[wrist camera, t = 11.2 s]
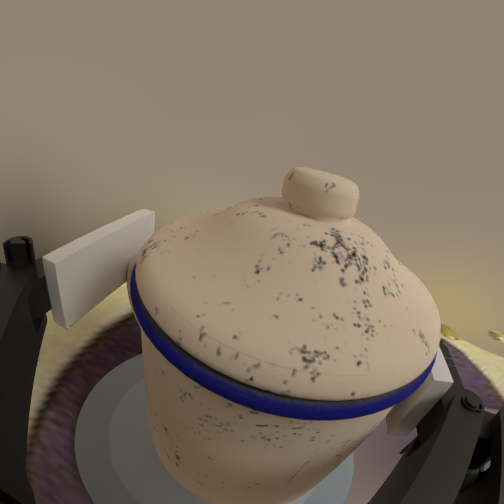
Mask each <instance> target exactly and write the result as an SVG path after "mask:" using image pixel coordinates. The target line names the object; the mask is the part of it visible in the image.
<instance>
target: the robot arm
mask: <svg viewBox="0 0 504 504" xmlns="http://www.w3.org/2000/svg"><path fill="white" fill-rule="evenodd" d="M154 222H155V212H154V211H149V210H146V209H141V210H139V211H137V212H134V213H132V214H130V215H128V216H125V217H123V218H121V219H118V220H117V221H114V222H112V223H110V224H108V225H105V226H103V227H101V228H99V229H97V230H95V231H93V232H90V233H88V234H86V235H85V236H82V237H80V238H78V239H76V240H74V241H72V242H70V243H68V244H66V245H64V246H62V247H60V248H58V249H56V250H54V251H52V252H50V253H48V254H47V255H45V256H43V257H41V258H39V259H37V260H35V254H34V247H33V240H32V238H30V237H28V236H17V237H13V238H10V239H8V240H6V241H5V242H4V243H3V247H4V253H5V259H6V264H3V263H1V262H0V504H36V503H35V497H34V494H33V491H32V489H31V487H30V484H29V482H28V480H27V475H26V450H27V432H28V420H29V411H30V403H31V396H32V389H33V383H34V377H35V372H36V366H37V361H38V357H39V352H40V348H41V344H42V339H43V335H44V332H45V328H46V324H47V316H46V312H48V311H49V310H51V309H52V314H53V318H54V321H55V322H56V323H58V324H59V325H61V326H63V327H64V328H66V329H68V328H69V327H71V326H72V325H73V324H74V323H75V322H77V321H78V320H79V319H80V318H81V317H83V316H84V315H85V314H86V313H87V312H89V311H90V310H91V309H92V308H93V307H95V306H96V305H97V304H98V303H100V302H101V301H102V300H103V299H105V298H106V297H107V296H108V295H110V294H111V293H112V292H113V291H115V290H116V289H117V288H119V287H120V286H121V285H122V284H124V283H125V282H126V281H127V269H128V265H129V262H130V260H131V259H132V257H133V256H134V255H135V254H137V253H138V252H140V251H141V250H142V248H143V246H144V245H145V243H146V242H147V240H148V239H149V238H150V237H151V236H152V235H153V234H154ZM386 423H387V434H388V435H390V436H404V437H406V436H407V435H408V434H409V433H410V432H411V431H412V430H413V429H414V428H415V427H416V428H417V434H418V436H417V437H416V438H415V439H414V440H412V442H410V443H409V444H408V445H407V446H406V447H405V448H404V449H403V450H402V451H401V452H400V454H403V453H404V452H405V453H404V454H403V456H402V457H401V459H400V461H399V462H398V464H397V465H396V466H395V468H394V469H393V471H392V472H391V474H390V475H389V476H388V478H387V479H386V481H385V482H384V483H383V485H382V486H381V487H380V489H379V490H378V491H377V492H376V494H375V495H374V496H373V498H372V499H371V500H370V501H369V502H368V504H504V406H503V407H502V408H501V409H500V410H499V411H498V413H497V414H496V415H495V414H492V413H489V412H486V411H484V405H483V403H482V401H481V399H480V398H479V397H478V396H477V395H476V394H475V393H474V392H472V391H470V390H466V389H464V387H463V384H462V382H461V379H460V377H459V374H458V372H457V370H456V367H455V366H454V362H453V360H452V359H451V356H450V353H449V351H448V349H447V347H446V346H445V345H444V344H443V343H442V341H441V340H440V343H439V347H438V350H437V355H436V359H435V363H434V365H433V367H432V370H431V372H430V373H429V375H428V376H427V378H426V379H425V381H424V382H423V383H422V384H421V386H420V387H419V388H418V389H417V390H416V391H415V392H414V393H412V394H411V395H410V396H408V397H407V398H406V399H404V400H403V401H401V402H399V403H397V404H396V405H395V406H394V407H393V408H392V409H391V411H390V412H389V413H388V414H387V415H386ZM490 460H491V463H490V467H489V468H488V469H487V470H486V471H484V465H485V464H486V463H487V462H488V461H490Z"/></svg>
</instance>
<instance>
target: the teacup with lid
mask: <svg viewBox="0 0 504 504" xmlns="http://www.w3.org/2000/svg"><path fill="white" fill-rule="evenodd" d="M282 196H283V197H265V198H255V199H251V200H247V201H244V202H241V203H239V204H237V205H234V206H232V207H230V208H228V209H226V210H216V211H207V212H200V213H195V214H190V215H187V216H183V217H181V218H178V219H176V220H173V221H171V222H169V223H167V224H166V225H164V226H162V227H161V228H160V229H158V230H157V231H156V232H155V233H154V234H153V235H152V236H151V237H150V238H149V239H148V240H147V242H146V243H145V245H144V246H143V248H142V250H141V251H140V252H138V253H137V254H135V255H134V256H133V257H132V259H131V260H130V262H129V265H128V269H127V290H128V296H129V300H130V304H131V307H132V310H133V313H134V316H135V318H136V320H137V322H138V324H139V326H140V328H141V338H142V353H143V365H144V376H145V385H146V394H147V402H148V410H149V417H150V423H151V430H152V436H153V441H154V445H155V448H156V451H157V454H158V456H159V458H160V460H161V462H162V463H163V465H164V466H165V468H166V470H167V471H168V472H169V473H170V475H171V476H172V477H173V478H174V479H175V480H176V481H177V482H178V483H179V484H180V485H181V486H183V487H184V488H185V489H187V490H188V491H189V492H191V493H192V494H194V495H196V496H197V497H199V498H201V499H203V500H205V501H208V502H210V503H213V504H287V503H290V502H292V501H294V500H296V499H298V498H300V497H302V496H303V495H305V494H306V493H308V492H309V491H310V490H312V489H313V488H314V487H315V486H316V485H318V484H319V483H320V482H321V481H322V480H323V479H325V478H326V477H327V476H328V475H329V474H330V473H331V472H332V471H334V470H335V469H336V468H337V467H338V466H339V465H340V464H341V463H342V462H343V461H344V460H345V459H346V458H347V457H348V456H349V455H350V454H351V453H352V452H353V451H354V450H355V449H356V448H357V447H358V446H359V445H360V444H361V443H362V442H363V441H364V440H365V439H366V438H367V436H369V435H370V434H371V432H372V431H373V430H374V429H375V428H376V427H377V426H378V425H379V424H380V422H381V421H382V420H383V419H384V418H385V417H386V415H387V414H388V413H389V412H390V411H391V409H392V408H393V407H394V406H395V405H396V404H397V403H399V402H401V401H403V400H404V399H406V398H407V397H408V396H410V395H411V394H412V393H414V392H415V391H416V390H417V389H418V388H419V387H420V386H421V384H422V383H423V382H424V381H425V379H426V378H427V376H428V375H429V373H430V372H431V370H432V367H433V365H434V363H435V359H436V355H437V350H438V347H439V343H440V329H441V327H440V317H439V313H438V310H437V307H436V304H435V302H434V300H433V298H432V296H431V295H430V293H429V291H428V290H427V288H426V287H425V286H424V285H423V283H422V282H421V281H420V280H419V279H418V278H417V277H416V276H415V275H414V274H413V273H412V272H411V271H410V270H409V269H407V268H406V267H405V266H404V265H403V264H401V263H400V262H399V261H397V260H396V259H394V257H393V255H392V254H391V252H390V251H389V249H388V248H387V246H386V245H385V243H384V242H383V241H382V240H381V238H380V237H379V236H378V235H377V234H376V233H375V232H374V231H373V230H371V229H370V228H369V227H367V226H366V225H365V224H363V223H362V222H360V221H359V220H357V219H355V218H353V217H352V216H353V215H354V213H355V211H356V209H357V206H358V202H359V198H360V194H359V190H358V188H357V185H356V184H355V183H354V182H352V181H350V180H348V179H346V178H343V177H340V176H337V175H334V174H331V173H327V172H324V171H320V170H315V169H311V168H306V167H294V168H292V169H291V170H290V171H289V172H288V173H287V174H286V176H285V178H284V183H283V187H282Z"/></svg>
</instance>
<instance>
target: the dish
mask: <svg viewBox="0 0 504 504" xmlns="http://www.w3.org/2000/svg"><path fill="white" fill-rule="evenodd" d="M75 456H76V461H77V467H78V470H79V473H80V476H81V479H82V482H83V484H84V487H85V488H86V490H87V492H88V494H89V496H90V497H91V499H92V501H93V503H94V504H213V503H210V502H208V501H205V500H203V499H201V498H199V497H197V496H196V495H194V494H192V493H191V492H189V491H188V490H187V489H185V488H184V487H183V486H181V485H180V484H179V483H178V482H177V481H176V480H175V479H174V478H173V477H172V476H171V475H170V473H169V472H168V471H167V470H166V468H165V466H164V465H163V463H162V462H161V460H160V458H159V456H158V454H157V451H156V448H155V445H154V441H153V436H152V430H151V423H150V417H149V410H148V402H147V394H146V385H145V376H144V365H143V353H142V354H140V355H137V356H135V357H133V358H131V359H128V360H127V361H125V362H123V363H122V364H120V365H118V366H117V367H115V368H114V369H113V370H111V371H110V372H109V373H108V374H106V375H105V376H104V377H103V378H102V379H101V380H100V381H99V382H98V383H97V384H96V386H95V387H94V388H93V390H92V391H91V392H90V394H89V395H88V397H87V399H86V400H85V402H84V404H83V406H82V408H81V411H80V414H79V417H78V420H77V425H76V431H75ZM353 458H354V457H353V452H352V453H351V454H350V455H349V456H348V457H347V458H346V459H345V460H344V461H343V462H342V463H341V464H340V465H339V466H338V467H337V468H336V469H335V470H334V471H332V472H331V473H330V474H329V475H328V476H327V477H326V478H325V479H323V480H322V481H321V482H320V483H319V484H318V485H316V486H315V487H314V488H313V489H312V490H310V491H309V492H308V493H306V494H305V495H303V496H302V497H300V498H298V499H296V500H294V501H292V502H290V503H287V504H344V503H345V501H346V498H347V496H348V493H349V490H350V487H351V483H352V477H353V470H354V459H353Z"/></svg>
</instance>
